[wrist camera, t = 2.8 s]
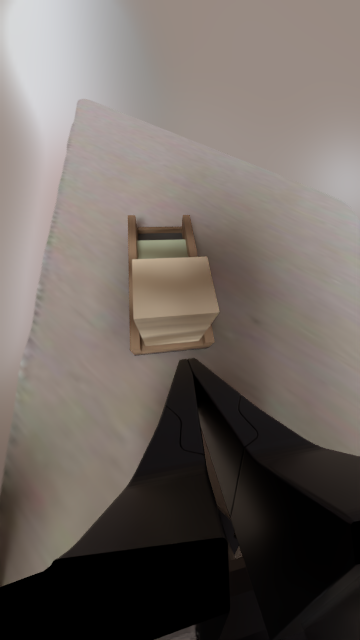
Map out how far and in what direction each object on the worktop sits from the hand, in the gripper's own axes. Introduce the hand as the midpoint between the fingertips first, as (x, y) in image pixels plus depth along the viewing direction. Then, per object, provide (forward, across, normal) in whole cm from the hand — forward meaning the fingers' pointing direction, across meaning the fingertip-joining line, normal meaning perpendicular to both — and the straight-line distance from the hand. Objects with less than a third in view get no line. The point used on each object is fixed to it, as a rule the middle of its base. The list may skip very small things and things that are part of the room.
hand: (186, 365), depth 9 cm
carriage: (+11, 0, +2) cm, 11 cm away
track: (+17, 0, -1) cm, 17 cm away
